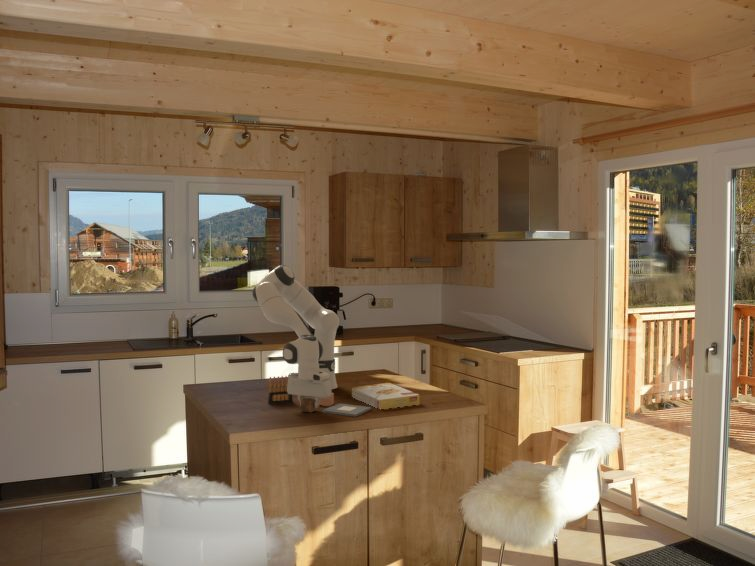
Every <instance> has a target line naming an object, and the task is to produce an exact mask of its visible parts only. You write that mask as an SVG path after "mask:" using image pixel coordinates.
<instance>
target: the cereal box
mask: <svg viewBox="0 0 755 566" xmlns="http://www.w3.org/2000/svg"><path fill="white" fill-rule="evenodd" d="M352 397H353V398H352ZM351 398H352V399H354V398H355V400H357V401H359V402H361V401H362V403H363V402H364V403H363V404H365V403H366V405H368V404H369V405H368V406H370V405H371V406H370V407H372V406H373V407H372V408H374V407H375V408H374V409H377V408H378V409H377V410H379V409H380V411H382V410H381V409H384V410H390V409H389V408H392V409H398V408H397V407H400V408H405V407H404V406H408V407H413V406H412V405H416V406H420V404H421V403H420V394H418V393H417V392H414V391H411V390H409V389H407V388H404V387H401V386H399V385H397V384H394V383H391V382H383V383H375V384H367V385H359V386H354V387H352V388H351Z"/></svg>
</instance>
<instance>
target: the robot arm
mask: <svg viewBox="0 0 755 566" xmlns="http://www.w3.org/2000/svg"><path fill="white" fill-rule="evenodd" d="M252 297H253V299H254V301H256V302H257V303H258V306H259V307H260V310H261V311H262V314H263V316H264V317H265V318H266V320H267V321H269V322H270V323H273V324H276V325H281V326H282V325H283V326H285V327H288V328H291V329H292V330H293V331H294V332H295V334H296V335H297V337H298V338H297V339H295V340H293V341H290V342H286V343H285V345H283V349H282V357H283V360H284V361H285V363H287V364H289V365H296V364H297V365H298V367H297V372H293V371H292V372H290V373H288V375H287V382H288V384H287V392H288V394H291V395H292V396H297V400H298V402H299V406H300V407H301V399H303V397H311V398H315V400H316V401H315V403H313V408H317V409H318V408H319V405H318V403H319V401H320V398H325V399H326V398H329V397H330V396H331V393H332V390H335V389H337V388H338V384H337V383H338V382H337V379H336V378H337V377H336V373H335V372H336V371H335V370H336V358H335V340H336V335H337V330H338V329H339V326H340V318H339V316H338V315H337V313H336V312H334V311H333V310H332V309H331V310H330V309H327V308H325V307H324V306H322V305H321V304H320V303H319V301H318V299H316V298H315V296H314V295H313V294H312V293H311V292H310V291H308V289H307V288H306V287H304V286H303V285H302V284H301V283H300V282H299V281H298V280H296V279H295V273H294V272H293V271H292V269H291V268H290V267H288V266H287V265H284V264H280V265H278V266H275V268H274V269H273V270H271V271H269V272H268V273H267V274H266V275H264V277H263V278H262V279H261V280H259V282H258V283H257V284H256V285H255V286H254V287H253V288H252ZM305 322H306V323H305ZM307 324H308V325H307ZM308 326H310V327H311V328H312V329H314V334H313V332H312V331H311V330H310V328H309V327H308Z"/></svg>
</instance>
